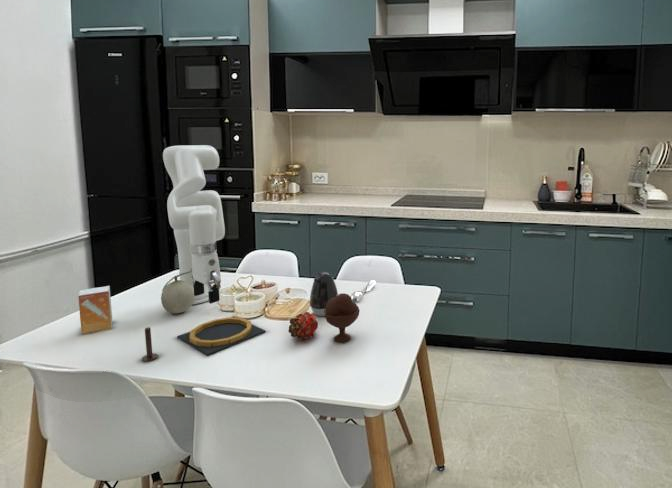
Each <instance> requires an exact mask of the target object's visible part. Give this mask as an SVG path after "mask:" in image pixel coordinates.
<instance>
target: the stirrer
mask: <svg viewBox="0 0 672 488" xmlns="http://www.w3.org/2000/svg"><path fill="white" fill-rule="evenodd" d="M376 283H377V282H376V281H375V280H369V281H368V282H367V284H366V286H365V289H364V290H362V291H360V290H357V291H354V292H353V293H351V295H350V297H351V298H352V302H354V303H357V302H359V301H360V300H361V299H362V298H363V296H364V293H367V292H370V291H371V290H372V289H373V288H374V287H375V286H376Z"/></svg>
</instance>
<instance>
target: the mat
mask: <svg viewBox="0 0 672 488" xmlns="http://www.w3.org/2000/svg"><path fill="white" fill-rule="evenodd" d="M232 317H235V318H238V317H237V316H235V315H233V316H232ZM251 327H252V331H251V332H250V333H249V334H248V335H247V336H246V337H245V338H243V339H240V340H238V341H235V342H233V343H229V344H226V345H220V346H214V347H213V346H212V347H206V346H196V345H195V344H193V343H191V342H190V341H189V336H190V331H187V332H184V333H182V334H179V335H177V336H176V338H177V339H178V340H179V341H181V342H183V343H184V344H187V345H189V346H190V347H191V348H193V349H195V350H197V351H198V352H200V353H202V354H203V355H205V356H211V355H214V354H215V353H218V352H221V351H224V350H226V349H228V348H231V347H233V346H236V345H238V344H240V343H243V342H246V341H248V340H251V339H252V338H255V337H258V336H260V335H263V334H265V333H267V331H266V330H265V329H263V328H262V327H261V328H260V327H258V326H257V325H254V324H253V323H251ZM246 328H247V326H245V325H242V324H240V323H224V324H218V325H214V326H211V327H208V328H205V329H203V330H202V331H200V332H199V333H197V334H196V336H195V337H197V338H199V339H200V340H219V339H225V338H229V337H232V336H234V335H237V334H239V333H241V332H242V331H243V330H245V329H246Z"/></svg>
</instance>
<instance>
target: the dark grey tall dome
mask: <svg viewBox="0 0 672 488" xmlns="http://www.w3.org/2000/svg"><path fill="white" fill-rule="evenodd" d="M338 295H339V292H338V288H337V285H336V282H335V280H334V278H333V275H331V273H329V272H328V271H320V272H318V273H317V275H316V276H315V278H314V279H313V282H312V286H311V290H310V294H309V307H310V308H311V311H312V312H313V314H314V315H317V316H319V317H325V313H324V310H325V309H326V305H327V303H328V301H329V300H330V299H332V298H333V297H336V296H338Z"/></svg>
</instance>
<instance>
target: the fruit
mask: <svg viewBox="0 0 672 488" xmlns="http://www.w3.org/2000/svg"><path fill="white" fill-rule="evenodd" d="M190 272H191V271H189V272H186V273H182V274H180V273H179V274H177V275H175V276H173V277H172V278H170V279H169V280H168V281H167V282H166V283H165V285H164V286H163V288H162V290H161V291H162V292H161V295H160V302H161V305H162V307H163V308H164V309H163V310H165V311H166V312H168V313H171V314H174V315H175V314H181V313H184V312H187V311H189V309H190V308H191V307H192V304H193V301H194V289H193V287H192V286H191V284H189V283H188V282H187V281H183V280H180V279H178V278H180V276H181V275H184V274H187V273H190ZM173 280H174V281H173ZM193 305H194V304H193Z"/></svg>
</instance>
